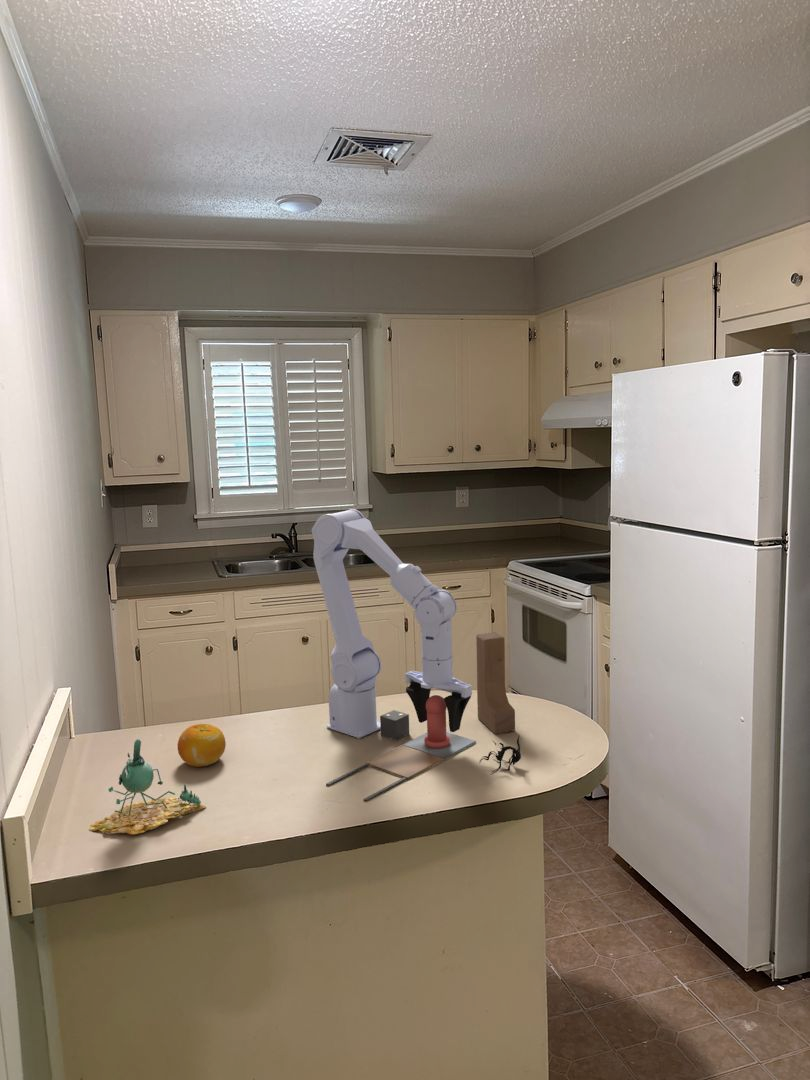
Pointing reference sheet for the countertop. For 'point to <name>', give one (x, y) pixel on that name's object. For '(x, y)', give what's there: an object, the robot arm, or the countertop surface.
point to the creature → (501, 754)
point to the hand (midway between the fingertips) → (438, 725)
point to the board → (411, 759)
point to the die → (394, 725)
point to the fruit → (201, 745)
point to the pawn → (436, 723)
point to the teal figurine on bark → (146, 812)
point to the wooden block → (493, 684)
